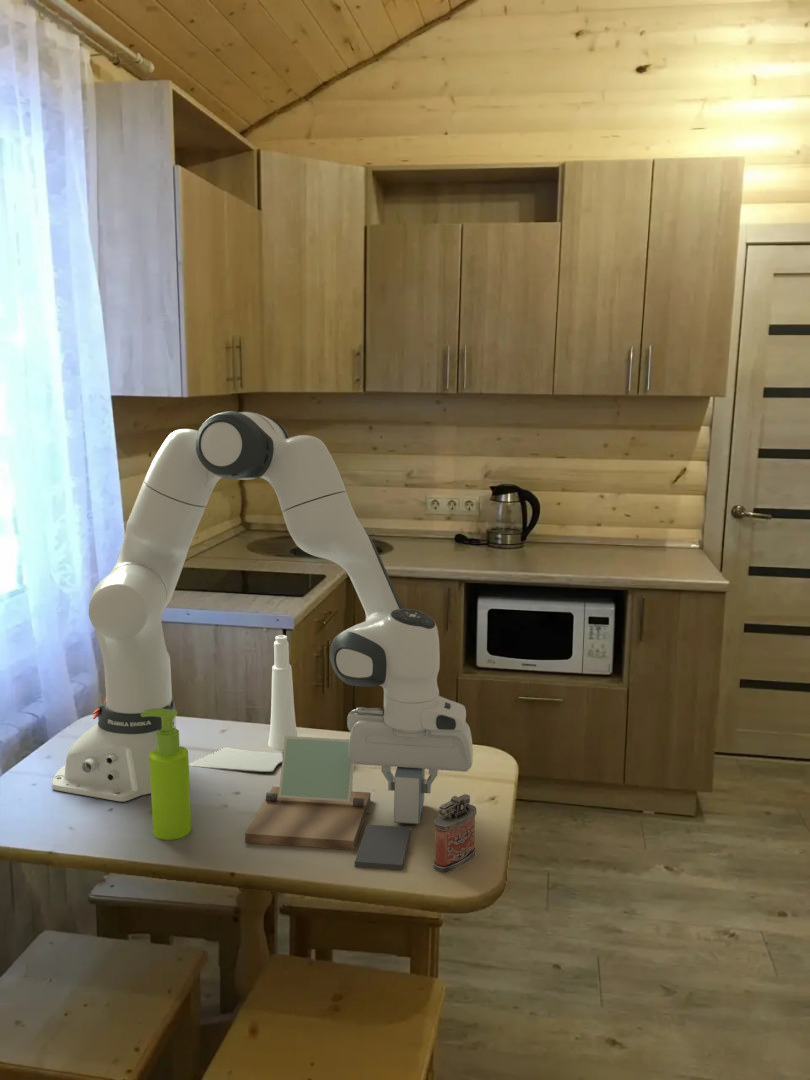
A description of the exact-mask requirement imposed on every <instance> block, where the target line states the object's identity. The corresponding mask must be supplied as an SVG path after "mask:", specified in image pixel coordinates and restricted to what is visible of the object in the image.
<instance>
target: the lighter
mask: <svg viewBox="0 0 810 1080" xmlns="http://www.w3.org/2000/svg"><path fill="white" fill-rule="evenodd" d="M470 803H471V796H470V795H469V794H466V793H464V794H461V795H459V796H457V795H453V796H452V797H451V799H450V800H449V801H447V802H445V803H443V804H442V805H440V806H439V807H438V814H439V815H438V816H437V817H435V818H434V820H433V827H434V829H435V830H434V832H435V833H434V836H435V837H434V861H433V870H434V871H435V872H437V873H439V874H446V873H450V872H453V871H455V870H457V869H459V868H462V867H463V866H464V865H466V864H468V863H469V862H470V861H472V859H474V857H475V856H476V847H475V843H476V842H475V835H476V833H475V831H476V829H475V828H476V815H477V807H476V806H474V805H473V804H470Z"/></svg>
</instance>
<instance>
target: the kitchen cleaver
mask: <svg viewBox="0 0 810 1080" xmlns="http://www.w3.org/2000/svg"><path fill="white" fill-rule="evenodd" d="M222 748H223V749H222ZM222 748H220V749H221V750H220V749H218V750H219V751H217V750H215V751H214V754H213V752H211V753H212V754H211V753H209V754H206V755H204V756H203V757H204V758H203V757H200V758H198V759H196V760H194V761H191V762H189V767H196V768H197V767H198V768H204V769H205V768H206V769H215V770H229V771H241V772H242V771H243V772H256V773H257V772H258V773H264V772H265V773H271V772H274V770H275V769H276V767H277V766H279V764H282V759H283V752H282V753H281V752H280V753H279V752H269V751H268V752H267V751H258V750H257V751H255V750H246V749H239V748H233V747H227V746H223V747H222ZM216 751H217V752H216Z"/></svg>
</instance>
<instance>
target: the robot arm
mask: <svg viewBox="0 0 810 1080" xmlns="http://www.w3.org/2000/svg"><path fill="white" fill-rule="evenodd" d="M222 478H223V479H229V480H242V481H249V480H254V479H262V480H264V481H267V482H268V483H269V485H270V486H271V487H272V489H273V490H274V492H275V494H276V497H277V500H278V504H279V507H280V510H281V512H282V513H281V514H282V516H283V519H284V522H285V526H286V529H287V531H288V533H289V535H290V536H291V538H292V540H293V542H294V544H295V545H296V547H298V548H299V549H301V551H303V552H305V553H307V554H309V555H311V556H313V557H315V558H316V557H317V558H320V559H325V560H327V561H330V562H333V563H335V564H337V565H339V567H341V568H342V569H343V570H344V571H345V572H346V573H347V575H348V577H349V579H350V581H351V583H352V585H353V587H354V590H355V593H356V594H357V597H358V599H359V601H360V604H361V605H362V608H363V610H364V612H365V620H364V621H362V622H360V623H357V624H355V625H353V626H351V627H348V628H347V629H344V630H343V631H341V632H340V633H338V634H337V635H336V636H335V637H333V640H331V641H332V642H331V644H330V647H329V648H330V649H329V660H330V665H331V668H332V670H333V671H334V673H335V674H336V676H337V677H338V678H339V679H340V680H341V681H342V682H344V683H345V684H347V685H349V686H355V687H378V686H379V687H382V688H383V708H381V707H379V708H378V707H371V708H370V707H369V708H368V707H363V706H362V707H361V706H360V707H359V706H358V707H356V709H352V710H351V711H350V712H349V713H348V715H347V720H346V721H347V725H346V726H347V728H348V732H350V735H349V739H348V740H349V747H348V759H349V760H350V761H351V762H352V763H353V764H354V765H365V766H378V767H381V773H382V774H383V776H384V778H385V780H386V781H387V782H388V783H387V784H388V785H387V787H388V788H387V789H388V791H390V792H394V784H395V775H393V772H392V770H391V769H392V767H395V768H397V767H406V768H420V769H425V770H428V775H429V776H428V777H427V778H425V779H423V780H422V790H421V793H424V794H431V792H432V784H433V783H434V781H435V780H436V778H437V777H438V773H439V771H452V772H468V771H469V770H470V769H471V768H472V767H473V761H474V760H473V759H474V758H473V757H474V752H473V750H474V748H473V737H472V732H471V727H470V726H469V724H468V723H467V721H466V718H467V710H466V706H465V705H463V704H462V703H459V702H456V701H453V700H451V699H448V698H446V697H443V696H441V695H440V690H439V685H438V674H439V671H440V667H441V666H440V664H441V662H440V660H441V659H440V658H441V657H440V654H441V653H440V651H441V650H440V637H439V630H438V626H437V624H436V622H435V620H434V618H432V616H431V615H429V614H428V613H425V612H423V611H422V610H421V611H420V610H417V609H413V608H410V609H409V608H405V607H404V606H403V604H402V603H401V601H400V599H399V596H398V595H397V593H396V590H395V588H394V585H393V582H392V581H391V579H390V576H389V575H388V572H387V569H386V567H385V565H384V562H383V560H382V558H381V556H380V554H379V551H378V550H377V548H376V547H377V546H376V545H375V543H374V542H373V539H372V538H371V536H370V535H369V533H368V532H367V530H366V529H365V528H364V527H363V525H362V524H361V522H360V520H359V518H358V517H357V515H356V512H355V511H354V508H353V506H352V503H351V500H350V498H349V495H348V492H347V489H346V486H345V483H344V481H343V478H342V476H341V474H340V471H339V469H338V467H337V465H336V463H335V461H334V459H333V456H332V455H331V453H330V451H329V450H328V447H327V446H326V444H325V443H324V442H323V441H322V439H320V438H318V437H317V436H313V435H305V434H304V435H295V436H291V437H290V435H289V433H288V431H287V430H286V429H285V427H284V426H283V425H282V424H281V423H280V422H278V421H277V420H275V419H274V418H272V417H270V416H266V415H262V414H259V413H256V412H251V411H239V412H238V411H232V410H230V411H229V410H228V411H227V410H226V411H221V412H218V413H216V414H213V415H212V416H210V417H209V418H207V419H206V420H205V421H204V422H202V424H201V426H199V428H198V430H197V429H192V428H180V429H176V430H174V431H173V432H170V433H169V435H168V436H167V437H166V438H165V440H164V441H163V443H162V444H161V446H160V447H159V449H158V451H157V453H156V454H155V456H154V458H153V460H152V461H151V463H150V466H149V468H148V470H147V472H146V475H145V477H144V480H143V482H142V484H141V487H140V489H139V491H138V494H137V497H136V499H135V501H134V505H133V507H132V510H131V512H130V514H129V517H128V520H127V522H126V529H125V534H124V537H123V541H122V545H121V549H120V552H119V555H118V558H117V561H116V563H115V564H114V567H113V568H112V569H111V571H110V572H109V574H107V575H106V576H105V577H104V578H103V579H102V580H101V581H99V583H97V585H96V586H95V588H94V589H93V592H92V594H91V597H90V600H89V604H88V616H89V620H90V624H91V625H92V627H93V628H94V629H95V633H96V638H97V641H98V646H99V649H100V653H101V656H102V662H103V671H104V685H105V686H104V687H105V698H104V700H103V703H102V704H99V706H97V709H96V710H94V712H92V715H93V717H92V719H93V720H95V719H97V720H98V721H97V723H96V724H94V725H93V726H92V727H90V729H88V730H87V731H86V732H84V733H83V734H82V735H81V736H80V737H78V738H77V739H76V740H75V741H73V743H72V744H71V746H70V747H69V750H68V752H67V753H66V757H65V764H64V765H63V766H62V767H60V768H59V770H58V771H57V772H56V773H55V774H54V776H53V778H52V781H51V787H52V790H54V791H59V792H65V793H70V794H76V795H82V796H86V797H93V798H98V799H103V800H104V799H105V800H110V801H114V802H122V803H123V802H127V801H131V800H133V799H135V798H138V797H141V796H144V795H149V794H150V795H151V781H150V762H149V754H150V753H151V752H152V751H153V750H155V749H157V732H158V731H159V730H161V729H162V720H161V717H154V716H148V717H142V716H141V714H142V713H143V712H144V711H145V710H149V709H156V708H162V709H170V710H176V705H175V698H174V696H173V693H172V691H173V690H172V672H171V671H172V670H171V669H172V668H171V657H170V653H169V652H168V650H167V645H166V641H165V635H164V632H163V631H164V630H163V623H162V622H163V621H162V619H163V612H164V610H165V609H166V608H167V606H168V604H169V603H170V602H171V600H172V597H173V594H174V593H175V589H176V587H177V585H178V581H179V579H180V576H181V574H182V570H183V567H184V564H185V562H186V560H187V555H188V553H189V549H190V547H191V545H192V542H193V539H194V536H195V535H196V532H197V530H198V527H199V525H200V522H201V520H202V517H203V516H204V513H205V510H206V507H207V505H208V504H209V503H208V502H209V500H210V498H211V495H212V493H213V491H214V488H215V487H216V484H217V483H218V481H220V480H221V479H222ZM173 728H175V729H177V715H176V716H175V717H174V718H173Z"/></svg>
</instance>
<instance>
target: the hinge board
mask: <svg viewBox="0 0 810 1080" xmlns="http://www.w3.org/2000/svg"><path fill="white" fill-rule="evenodd" d="M279 787H280V786H272V787H271V789H270V790H269V792H266V794H265V799H264V801H263V802H262V804H261V806H260V807H259V809H258V810H257V813H256V814H255V816H254V818H253V819H252V821H251V822H250V825H249V826H248V827H247V829H246V831H245V833H244V842H245V843H247V844H260V845H261V844H263V845H278V846H279V845H280V846H290V847H291V846H293V847H307V848H318V849H319V848H320V849H321V848H322V849H336V850H349V851H354V850H355V846H356V844H357V841H358V839H359V835H360V832H361V829H362V826H363V824H364V822H365V817H366V815H367V811H368V808H369V806H370V803H371V792H369V791H368V792H367V791H366V792H365V791H354V790H352V798H351V802H337V801H321V800H306V799H290V798H279V797H278V796H279Z"/></svg>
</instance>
